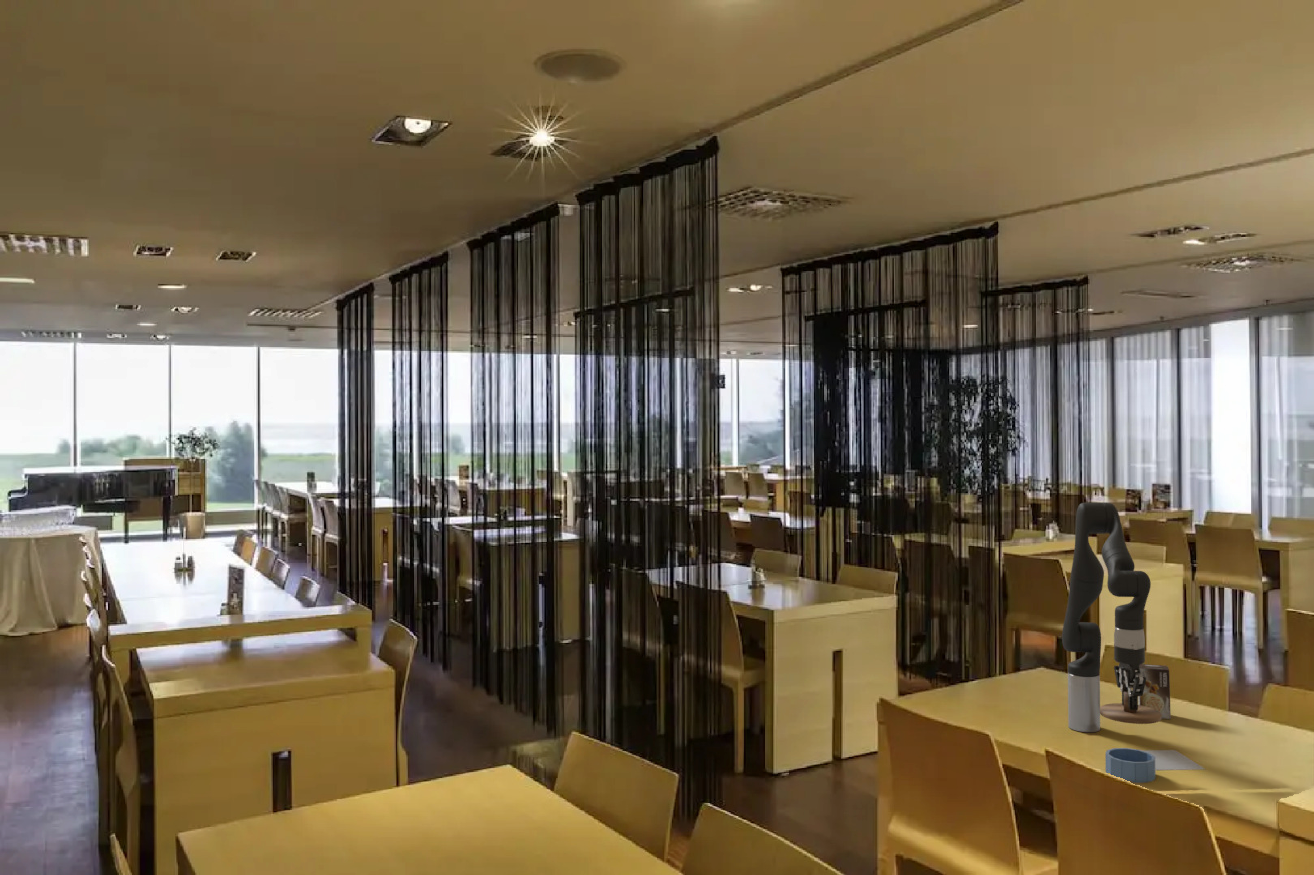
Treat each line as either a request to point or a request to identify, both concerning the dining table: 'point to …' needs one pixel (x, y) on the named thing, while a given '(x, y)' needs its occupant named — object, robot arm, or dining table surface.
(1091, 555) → the robot arm
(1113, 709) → the lid
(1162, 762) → the mat
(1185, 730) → the dining table surface
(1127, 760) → the bowl
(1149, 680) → the coffee box
